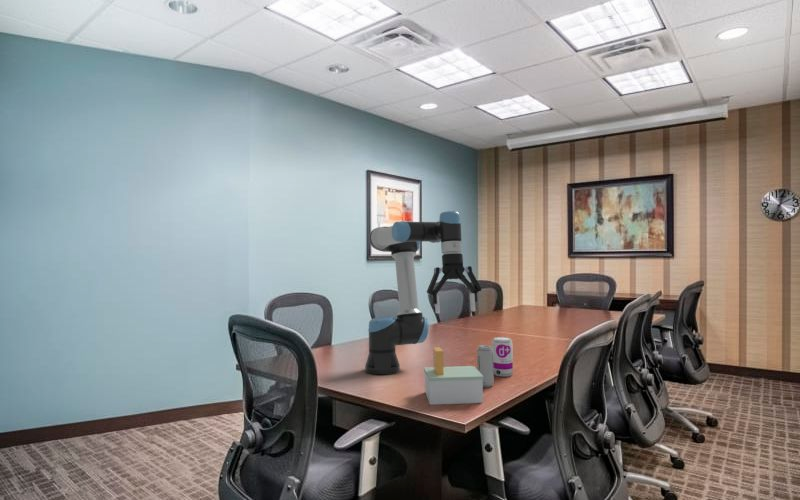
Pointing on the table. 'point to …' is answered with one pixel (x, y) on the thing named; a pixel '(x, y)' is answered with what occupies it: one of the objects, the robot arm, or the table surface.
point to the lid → (449, 370)
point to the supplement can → (502, 356)
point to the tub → (454, 391)
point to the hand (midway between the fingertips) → (455, 312)
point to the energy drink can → (485, 364)
